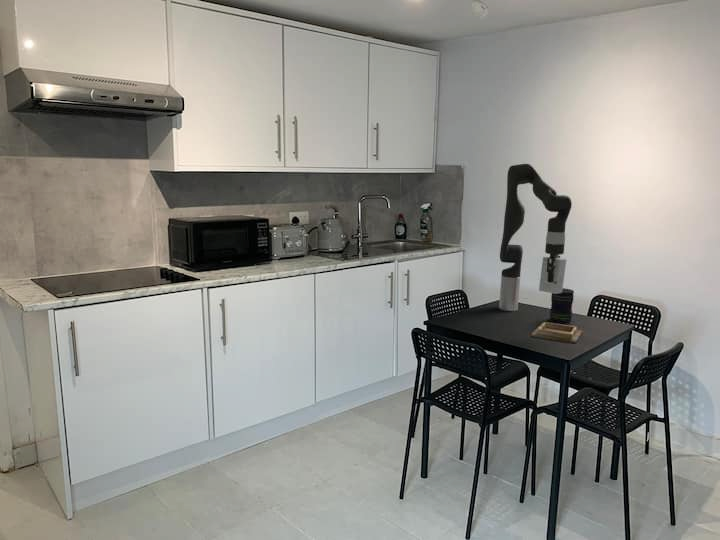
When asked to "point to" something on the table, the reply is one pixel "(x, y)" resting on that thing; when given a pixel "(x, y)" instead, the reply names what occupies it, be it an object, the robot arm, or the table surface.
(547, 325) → the plate
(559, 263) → the skincare box
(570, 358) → the table surface
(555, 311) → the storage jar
